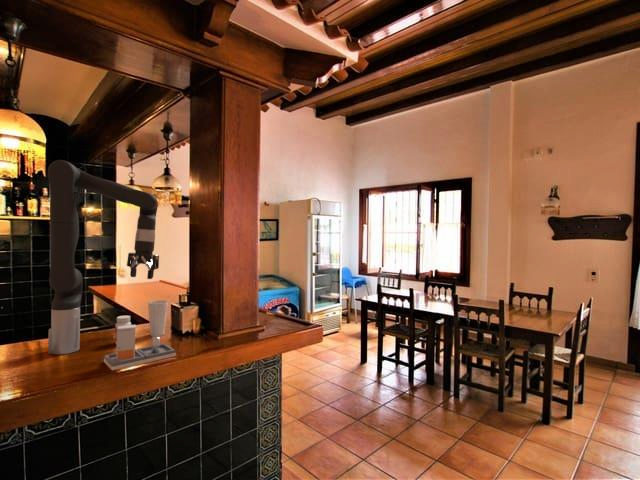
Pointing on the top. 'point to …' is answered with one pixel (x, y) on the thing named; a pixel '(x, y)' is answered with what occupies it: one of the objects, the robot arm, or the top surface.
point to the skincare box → (125, 342)
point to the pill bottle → (121, 324)
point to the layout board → (142, 355)
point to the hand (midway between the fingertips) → (141, 277)
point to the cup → (157, 317)
